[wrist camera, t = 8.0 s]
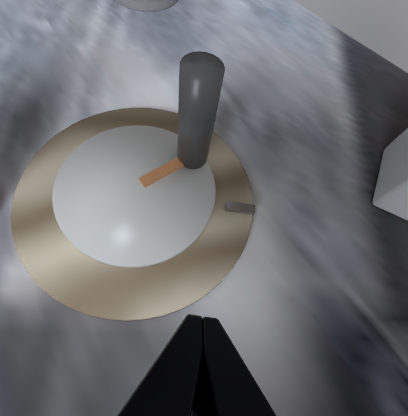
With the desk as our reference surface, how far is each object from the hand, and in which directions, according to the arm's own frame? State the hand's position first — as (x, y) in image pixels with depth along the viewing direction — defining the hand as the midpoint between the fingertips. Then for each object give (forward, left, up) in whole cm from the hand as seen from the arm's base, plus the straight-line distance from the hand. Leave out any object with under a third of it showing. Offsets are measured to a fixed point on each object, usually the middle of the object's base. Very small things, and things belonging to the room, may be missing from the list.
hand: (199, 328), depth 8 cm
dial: (+11, 0, -11) cm, 15 cm away
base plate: (+10, 0, -12) cm, 16 cm away
